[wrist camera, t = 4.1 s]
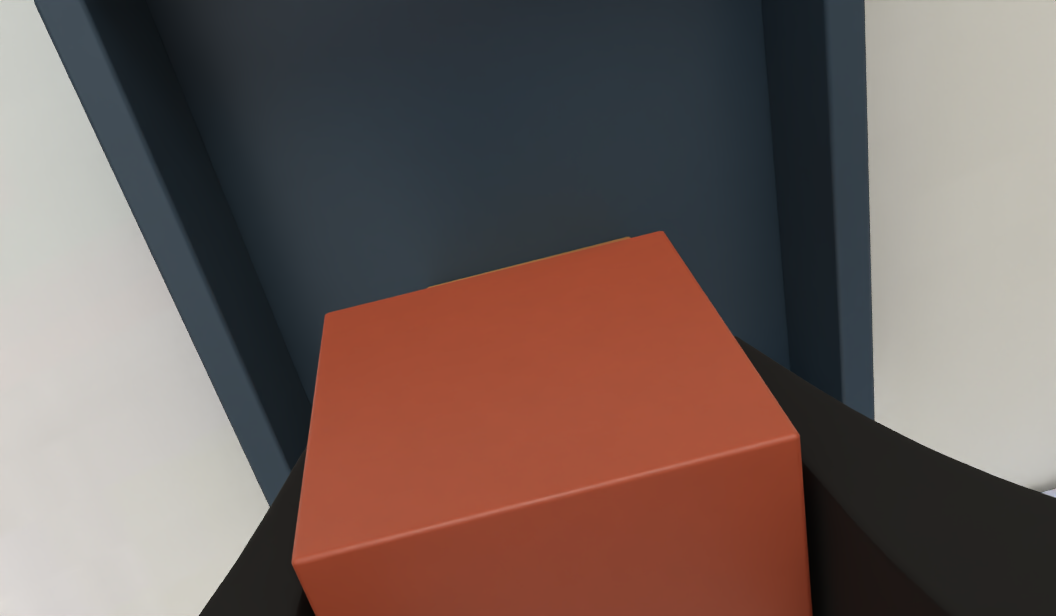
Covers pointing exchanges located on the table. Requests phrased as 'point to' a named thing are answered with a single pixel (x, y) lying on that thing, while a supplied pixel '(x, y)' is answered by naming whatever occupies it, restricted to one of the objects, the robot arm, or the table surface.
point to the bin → (478, 165)
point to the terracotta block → (550, 451)
